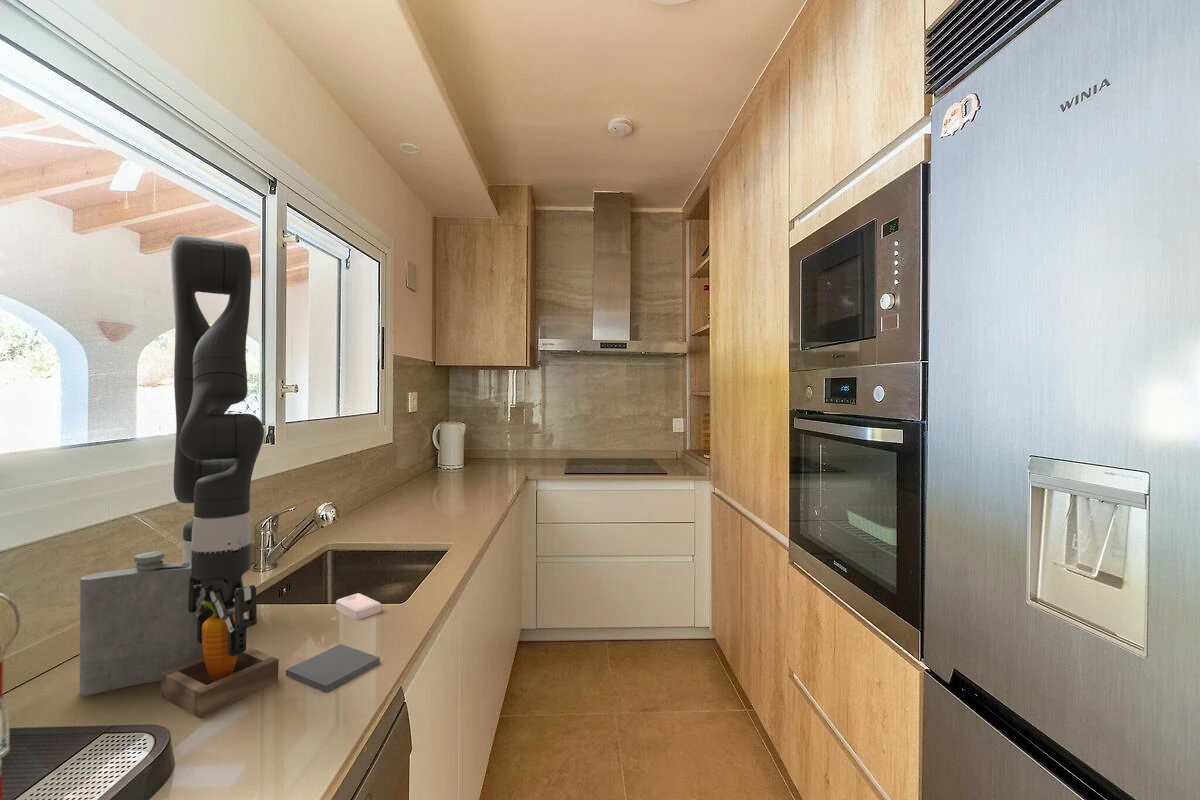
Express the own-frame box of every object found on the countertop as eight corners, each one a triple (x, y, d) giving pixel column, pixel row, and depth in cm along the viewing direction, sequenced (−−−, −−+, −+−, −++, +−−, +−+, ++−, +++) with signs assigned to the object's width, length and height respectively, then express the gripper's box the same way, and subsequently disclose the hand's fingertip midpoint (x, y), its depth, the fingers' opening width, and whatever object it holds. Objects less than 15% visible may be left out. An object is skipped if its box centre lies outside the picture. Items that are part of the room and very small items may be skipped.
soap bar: (357, 622, 106) (357, 610, 106) (335, 610, 112) (335, 599, 112) (382, 613, 111) (382, 601, 111) (359, 602, 116) (359, 591, 116)
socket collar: (160, 696, 79) (160, 673, 79) (238, 663, 89) (239, 643, 89) (200, 717, 74) (200, 693, 74) (278, 680, 84) (278, 658, 84)
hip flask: (75, 697, 78) (76, 564, 78) (87, 684, 82) (87, 556, 82) (206, 673, 86) (207, 551, 85) (211, 662, 89) (212, 544, 89)
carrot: (219, 699, 78) (220, 599, 78) (192, 695, 80) (193, 596, 79) (248, 681, 83) (249, 587, 83) (222, 677, 84) (223, 584, 84)
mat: (285, 675, 85) (285, 669, 85) (340, 649, 94) (340, 643, 94) (325, 692, 81) (325, 685, 81) (379, 663, 90) (379, 657, 90)
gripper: (169, 542, 81) (169, 647, 81) (221, 556, 75) (220, 670, 75) (223, 531, 88) (222, 628, 88) (274, 543, 81) (273, 648, 81)
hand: (221, 647), depth 81 cm, fingers open, 8 cm apart
